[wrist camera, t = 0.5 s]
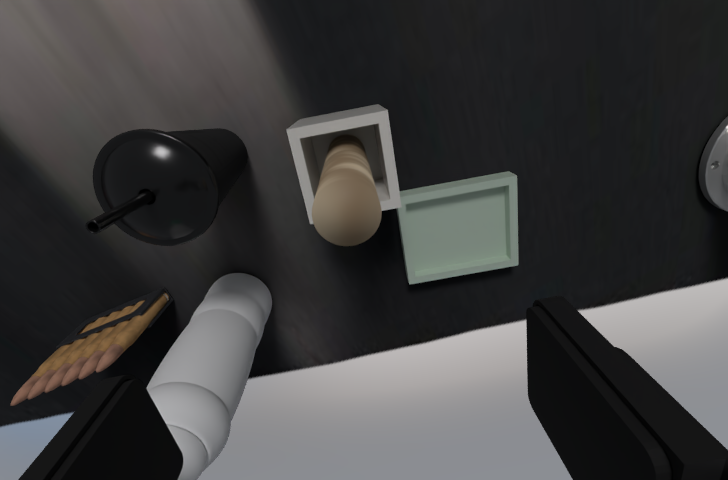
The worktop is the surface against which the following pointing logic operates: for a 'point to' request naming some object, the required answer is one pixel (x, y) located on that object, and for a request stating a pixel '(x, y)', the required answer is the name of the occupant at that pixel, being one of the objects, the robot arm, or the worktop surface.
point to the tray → (459, 227)
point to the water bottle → (211, 368)
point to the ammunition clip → (96, 344)
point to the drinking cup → (165, 182)
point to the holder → (363, 123)
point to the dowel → (346, 195)
